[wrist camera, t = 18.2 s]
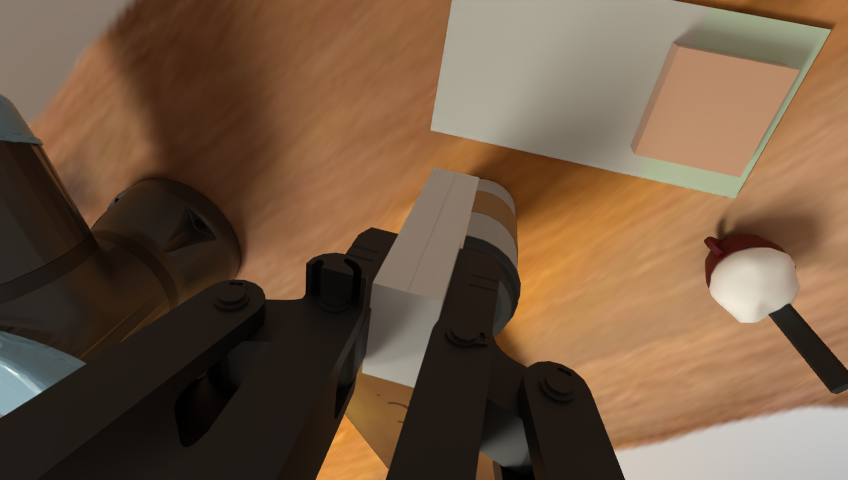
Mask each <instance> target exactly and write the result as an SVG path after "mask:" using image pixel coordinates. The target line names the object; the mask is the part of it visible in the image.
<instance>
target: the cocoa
mask: <svg viewBox="0 0 848 480" xmlns="http://www.w3.org/2000/svg"><path fill="white" fill-rule="evenodd" d="M704 242H705V244H706V245H707V246H708V248H709V249H710V250H711V251H710V253H709V254H708V256H707V258H706V260H705V271H706V283H707V285H708V288H709V290H710V292H711V295H712V297H713V298H714V299H715V300H716V301H717V302H718V303H719V304H720V305H721V306H723V307H724V308H725V309H726V310H727V311H728V312H730V313H731V314H732V315H733V316H734V317H735V318H736V319H737V320H738V321H739V322H740V323H755V322H759V321H760V320H762V319H763V318H765V317H766V316H768V315H769V316H770V317H771V318H772V320H773V321H774V322H775V323H776V325H777V326H778V327H779V328H780V330H781V331H782V332H783V333H784V335H785V336H786V337H787V338H788V340H789V341H790V342H791V343H792V345H793V346H794V347H795V348H796V350H797V351H798V352H799V353H800V354H801V356H802V357H803V358H804V359H805V361H806V362H807V363H808V364H809V366H810V367H811V368H812V369H813V371H814V372H815V373H816V374H817V376H818V377H819V378H820V379H821V381H822V382H823V383H824V384H825V386H826V387H827V388H828V389H829V391H830V392H831V393H835V394H839V393H841V392H843V391H845V390H847V389H848V370H847V369H846V368H845V367H844V365H843V364H842V363H841V362H840V361H839V360H838V359H837V357H836V356H835V355H834V354H833V353H832V352H831V350H830V349H829V348H828V347H827V346H826V345H825V344H824V342H823V341H822V340H821V339H820V338H819V337H818V335H817V334H816V333H815V332H814V331H813V330H812V329H811V327H810V326H809V325H808V324H807V323H806V322H805V321H804V319H803V318H802V317H801V316H800V315H799V314H798V312H797V311H796V310H795V309H794V308H793V307H792V306H791V304H792V303H793V301H794V299H795V297H796V295H797V292H798V290H799V288H800V284H799V281H798V278H797V276H796V266H795V264H794V262H793V261H792V259H791V257H790V256H789V254H787V253H786V252H785V251H784V250H783V249H782V248H781V247H779V246H778V245H776V244H774V243H772V242H770V241H768V240H766V239H763V238H761V237H759V236H757V235H737V236H734V237H731V238H727V239H724V240H723V241H721V240H719V239H716V238H714V237H707V238H706V239H705V240H704Z"/></svg>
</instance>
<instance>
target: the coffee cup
mask: <svg viewBox="0 0 848 480" xmlns="http://www.w3.org/2000/svg"><path fill="white" fill-rule="evenodd" d="M463 249H465V250H469V251H473V252H477V253H481V254H485V255H489V256H493V257H495V258H496V260H497V262H498V264H499V266H500V268H501V274H500V281H499V288H498V295H497V302H496V310H495V317H494V324H493V337H494V336H495V335H497V334H499V333H500V332H501V330H502V329H503V328H504V327H505V326H506V324H507V323H508V322H509V321H510V319H511V318H512V317H513V315H514V313H515V310H516V308H517V305H518V300H519V297H520V286H521V282H520V279H519V275H518V272H517V262H518V243H517V222H516V212H515V205H514V201H513V199H512V197H511V195H510V194H509V192H508V191H507V190H506V189H505V188H504V187H503V186H501V185H499V184H497V183H496V182H493V181H490V180H486V179H479V182H478V186H477V190H476V194H475V198H474V203H473V207H472V211H471V215H470V219H469V224H468V228H467V232H466V236H465V241H464V245H463Z"/></svg>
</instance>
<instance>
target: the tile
mask: <svg viewBox="0 0 848 480" xmlns="http://www.w3.org/2000/svg"><path fill="white" fill-rule="evenodd" d="M799 71H800V70H798V69H796V68H794V67H791V66H789V65H786V64H781V63H776V62H770V61H765V60H760V59H755V58H750V57H745V56H739V55H734V54H729V53H724V52H719V51H713V50H708V49H703V48H698V47H693V46H688V45H682V44H677V43H672V45H671V47H670V50H669V52H668V54H667V57H666V59H665V62H664V64H663V67H662V69H661V72H660V74H659V77H658V79H657V81H656V84H655V86H654V89H653V91H652V94H651V96H650V99H649V101H648V104H647V106H646V108H645V111H644V113H643V116H642V118H641V121H640V123H639V126H638V128H637V130H636V133H635V135H634V138H633V140H632V143H631V145H630V147H631V149H632V151H633V153H634V155H639V156H644V157H648V158H653V159H657V160H662V161H667V162H671V163H676V164H680V165H685V166H690V167H694V168H699V169H703V170H708V171H713V172H717V173H722V174H726V175H731V176H736V177H741V175H742V173H743V171H744V169H745V168H746V166H747V164H748V162H749V160H750V159H751V157H752V155H753V153H754V152H755V150H756V148H757V146H758V144H759V143H760V141H761V139H762V137H763V135H764V134H765V132H766V130H767V128H768V127H769V125H770V123H771V121H772V119H773V118H774V116H775V114H776V112H777V111H778V109H779V107H780V105H781V103H782V102H783V100H784V98H785V96H786V94H787V93H788V91H789V89H790V87H791V86H792V84H793V82H794V80H795V78H796V77H797V75H798V73H799Z"/></svg>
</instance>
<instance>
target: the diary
mask: <svg viewBox="0 0 848 480" xmlns="http://www.w3.org/2000/svg"><path fill="white" fill-rule="evenodd" d="M362 367H363V362H362V364H361V366H360V368H359V371H358V373H357V377H356V384H355V390H354V393H353V395H352V398H351V400H350V402H349V404H348V407H347V409H346V411H345V415H346V416H347V418H348V419H349V420H350V421H351V423H352V424H353V425H354V426H355V428H356V429H357V430H358V431H359V433H360V434H361V435H362V436H363V438H364V439H365V440H366V441H367V443H368V444H369V445H370V447H371V448H372V449H373V450H374V452H375V453H376V454H377V455H378V457H379V458H380V459H381V460H382V462H383V463H384V464H385V465H386V467H387V468H388V469H389V468H390V464H391V461H392V458H393V455H394V451H395V448H396V445H397V442H398V439H399V435H400V432H401V429H402V426H403V422H404V419H405V416H406V413H407V409H408V406H409V403H410V400H411V396H412V393H413V390H414V388H413V387H410V386H406V385H403V384H399V383H396V382H392V381H389V380H385V379H382V378H378V377H375V376H371V375H368V374H364V373H362ZM476 480H495V477H494V471H493V460H492V459H491V458H489V457H488V456H486V455H485V454H483V453H482V452H480V451H479V459H478V466H477V473H476Z"/></svg>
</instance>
